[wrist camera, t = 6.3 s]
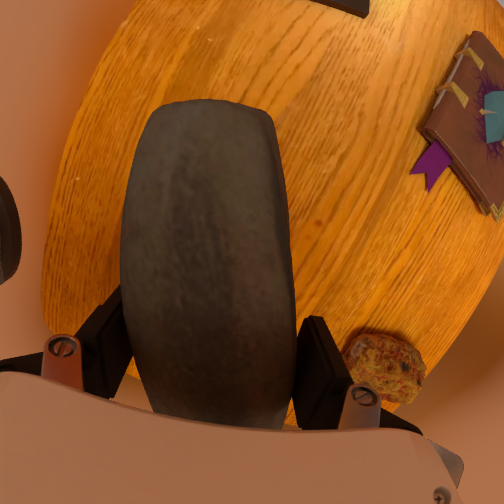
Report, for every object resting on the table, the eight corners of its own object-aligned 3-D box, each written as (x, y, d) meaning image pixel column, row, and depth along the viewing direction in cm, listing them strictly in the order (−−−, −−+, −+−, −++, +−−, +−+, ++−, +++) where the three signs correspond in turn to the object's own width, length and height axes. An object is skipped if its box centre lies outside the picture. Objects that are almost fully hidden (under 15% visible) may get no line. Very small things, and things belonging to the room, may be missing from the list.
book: (389, 159, 24) (414, 159, 19) (462, 32, 18) (483, 22, 13) (469, 248, 27) (494, 261, 22) (526, 119, 21) (548, 118, 16)
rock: (350, 364, 36) (319, 395, 29) (365, 312, 35) (338, 334, 27) (417, 388, 30) (403, 428, 22) (439, 335, 28) (434, 366, 21)
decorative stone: (274, 426, 15) (282, 479, 11) (174, 425, 15) (165, 477, 11) (296, 116, 10) (331, 93, 6) (130, 121, 9) (75, 106, 5)
